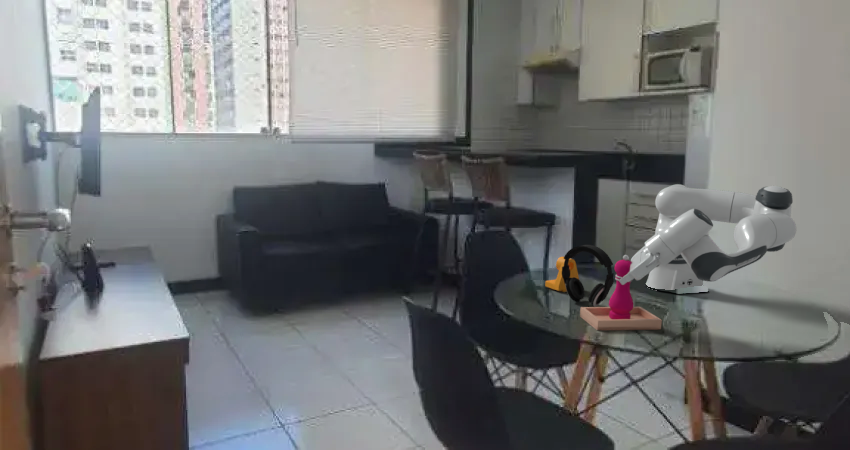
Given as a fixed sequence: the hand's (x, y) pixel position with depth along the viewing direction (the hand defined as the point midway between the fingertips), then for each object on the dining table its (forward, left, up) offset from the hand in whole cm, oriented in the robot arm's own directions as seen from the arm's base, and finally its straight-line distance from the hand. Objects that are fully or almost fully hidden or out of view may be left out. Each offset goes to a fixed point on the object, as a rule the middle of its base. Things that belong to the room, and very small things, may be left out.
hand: (621, 278), depth 180 cm
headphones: (+3, -19, -14) cm, 24 cm away
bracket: (+3, -38, -14) cm, 41 cm away
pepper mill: (-1, -1, -13) cm, 13 cm away
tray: (-1, 0, -14) cm, 14 cm away
